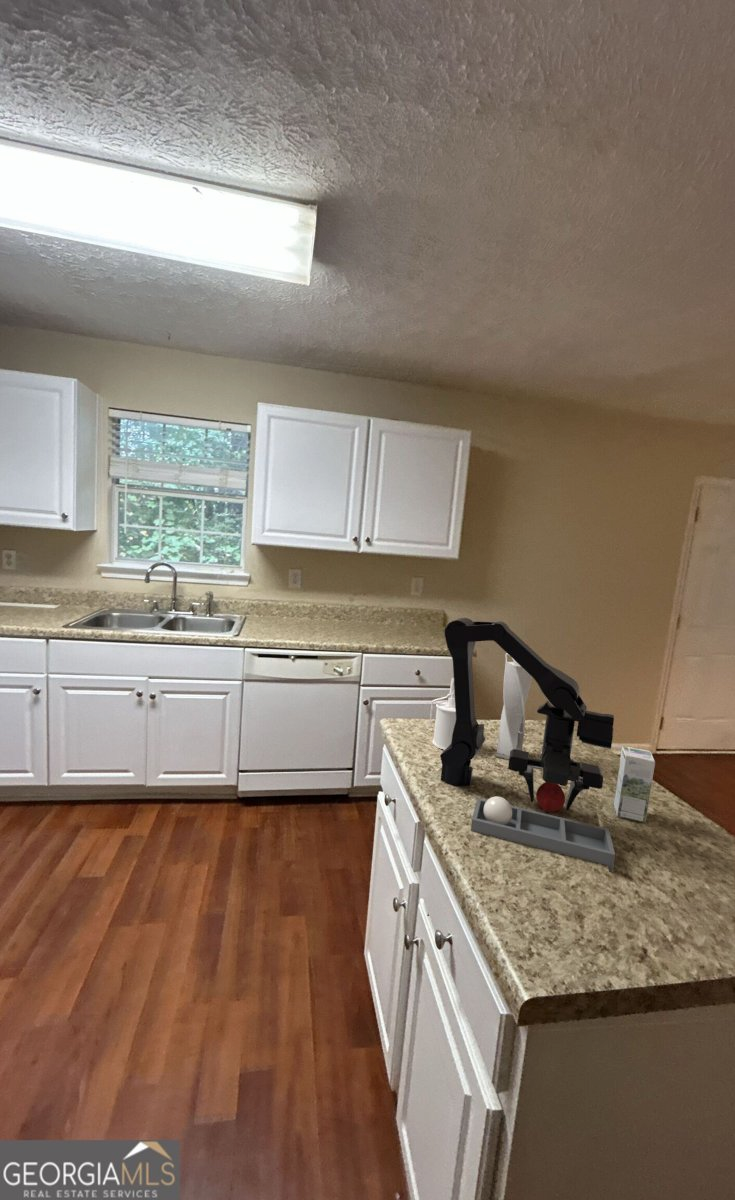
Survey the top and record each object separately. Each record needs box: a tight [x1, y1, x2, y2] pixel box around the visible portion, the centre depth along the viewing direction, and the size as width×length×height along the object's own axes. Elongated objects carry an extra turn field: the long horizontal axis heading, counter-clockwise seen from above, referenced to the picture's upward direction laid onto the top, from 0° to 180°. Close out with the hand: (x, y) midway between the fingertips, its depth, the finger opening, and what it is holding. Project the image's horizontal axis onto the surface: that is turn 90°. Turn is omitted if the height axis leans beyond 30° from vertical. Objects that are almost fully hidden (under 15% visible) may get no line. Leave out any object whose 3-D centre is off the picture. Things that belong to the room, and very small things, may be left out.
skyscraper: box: [494, 652, 533, 761], centre depth 137 cm, size 8×8×28 cm
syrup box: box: [613, 745, 656, 823], centre depth 110 cm, size 6×6×14 cm
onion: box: [535, 781, 566, 813], centre depth 109 cm, size 6×6×8 cm
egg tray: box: [470, 797, 616, 874], centre depth 98 cm, size 25×9×4 cm, turn 71°
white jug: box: [429, 677, 456, 751], centre depth 141 cm, size 10×9×20 cm
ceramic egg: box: [483, 795, 512, 825], centre depth 101 cm, size 6×6×6 cm
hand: (549, 805), depth 109 cm, fingers open, 7 cm apart
